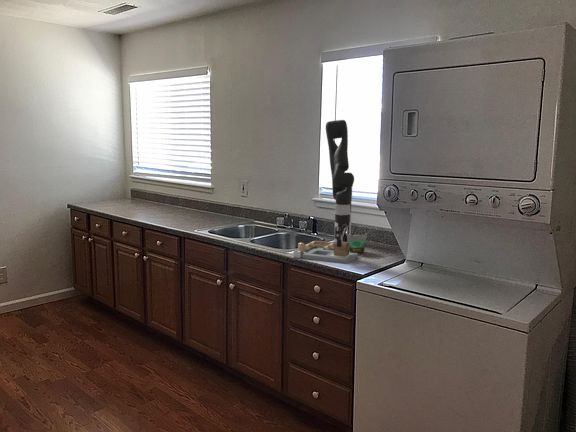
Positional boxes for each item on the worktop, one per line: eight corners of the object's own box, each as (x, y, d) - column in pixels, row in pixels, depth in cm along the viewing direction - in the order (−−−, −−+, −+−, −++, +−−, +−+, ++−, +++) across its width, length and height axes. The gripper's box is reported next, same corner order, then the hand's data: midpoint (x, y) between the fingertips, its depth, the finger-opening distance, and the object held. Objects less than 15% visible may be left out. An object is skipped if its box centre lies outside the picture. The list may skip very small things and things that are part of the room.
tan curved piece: (314, 245, 285) (314, 240, 285) (334, 248, 280) (334, 242, 280) (304, 251, 273) (304, 245, 273) (324, 253, 268) (324, 247, 267)
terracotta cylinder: (299, 253, 267) (299, 242, 266) (304, 254, 266) (305, 242, 265) (297, 254, 264) (297, 243, 263) (302, 255, 263) (302, 244, 262)
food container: (348, 255, 264) (348, 236, 262) (344, 252, 270) (344, 233, 268) (370, 253, 267) (371, 235, 265) (365, 251, 273) (366, 232, 271)
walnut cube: (337, 252, 260) (338, 241, 259) (349, 254, 257) (349, 242, 256) (333, 255, 254) (333, 243, 253) (345, 256, 252) (345, 244, 251)
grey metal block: (294, 256, 262) (294, 249, 261) (301, 256, 262) (301, 249, 261) (293, 257, 259) (293, 251, 258) (300, 258, 258) (300, 251, 258)
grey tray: (314, 252, 270) (314, 248, 270) (357, 257, 260) (357, 252, 260) (302, 258, 257) (302, 254, 257) (347, 263, 247) (347, 259, 246)
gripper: (340, 210, 260) (339, 241, 263) (330, 214, 248) (329, 247, 250) (354, 211, 257) (353, 243, 260) (344, 215, 244) (344, 248, 247)
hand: (342, 245), depth 255 cm, fingers open, 8 cm apart
